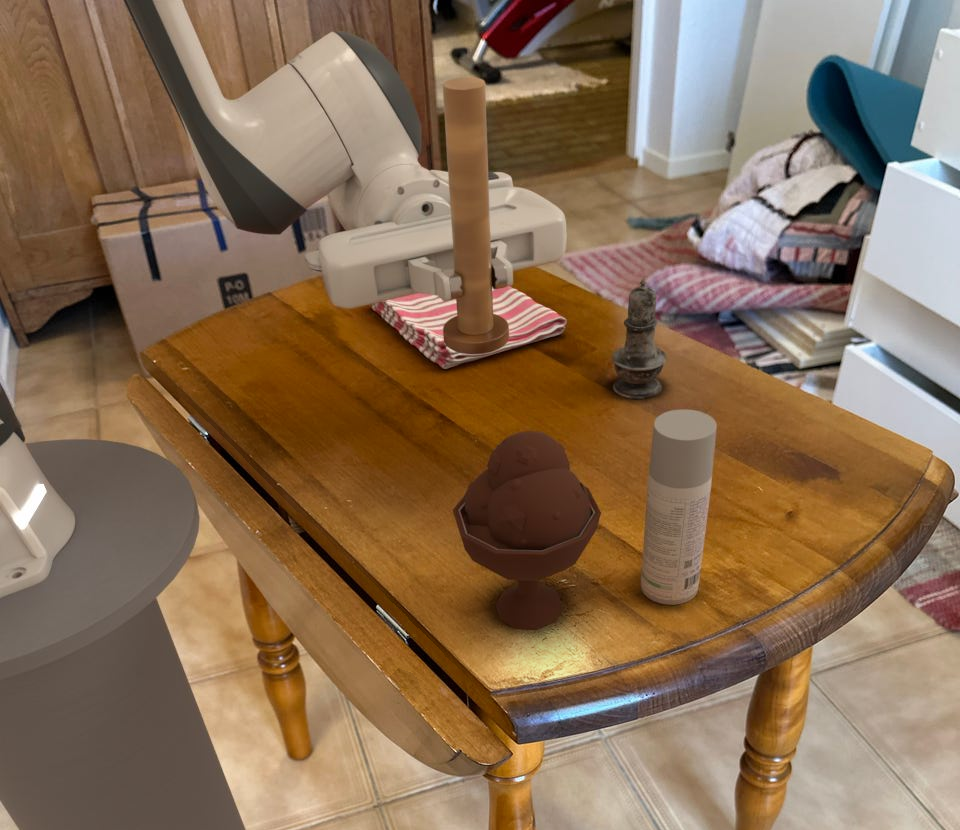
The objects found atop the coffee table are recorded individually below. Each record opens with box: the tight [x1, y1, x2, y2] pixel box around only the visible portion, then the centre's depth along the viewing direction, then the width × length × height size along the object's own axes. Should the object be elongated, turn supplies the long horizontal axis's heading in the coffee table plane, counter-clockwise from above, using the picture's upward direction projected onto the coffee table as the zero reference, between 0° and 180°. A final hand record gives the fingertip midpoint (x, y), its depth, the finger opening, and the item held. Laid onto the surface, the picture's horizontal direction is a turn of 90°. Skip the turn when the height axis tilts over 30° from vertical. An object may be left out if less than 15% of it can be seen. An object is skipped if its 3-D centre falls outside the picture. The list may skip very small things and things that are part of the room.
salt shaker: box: [611, 278, 668, 400], centre depth 98 cm, size 6×6×12 cm
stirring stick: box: [442, 76, 509, 354], centre depth 67 cm, size 5×5×18 cm
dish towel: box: [369, 286, 567, 370], centre depth 117 cm, size 17×23×4 cm
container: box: [640, 408, 718, 606], centre depth 71 cm, size 5×5×15 cm
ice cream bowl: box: [452, 430, 602, 630], centre depth 71 cm, size 11×11×15 cm
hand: (479, 283), depth 69 cm, fingers closed on stirring stick, 3 cm apart
